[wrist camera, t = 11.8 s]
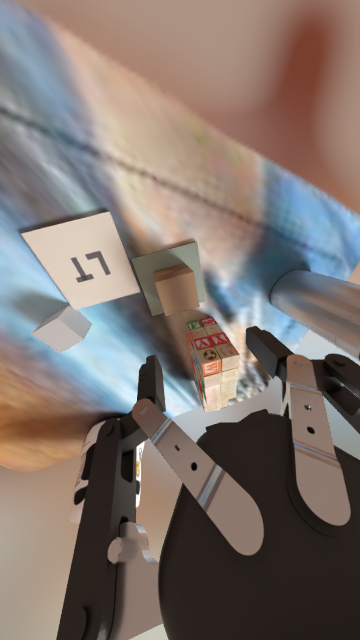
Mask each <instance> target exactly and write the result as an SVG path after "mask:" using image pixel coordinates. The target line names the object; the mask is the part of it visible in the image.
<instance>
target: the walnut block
mask: <svg viewBox="0 0 360 640" xmlns="http://www.w3.org/2000/svg"><path fill="white" fill-rule="evenodd" d="M153 273H154V280H155V284H156V288H157V291H158V294H159V297H160V300H161V303H162V306H163V309H164V312H165V316H168V315H172V314H175V313H178V312H182V311H185V310H189V309H192V308H196V307H199V306H200V305H199V299H198V293H197V287H196V281H195V275H194V271H193V270H192V269H191V268H190V267H189V266H187V265H186V264H185V263H183V264H179V265H175V266H172V267H168V268H164V269H161V270H157V271H154V272H153Z"/></svg>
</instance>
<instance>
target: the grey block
mask: <svg viewBox="0 0 360 640" xmlns="http://www.w3.org/2000/svg"><path fill="white" fill-rule="evenodd" d="M91 325H92V323H91V322H90V321H89V320H88V319H87V318H86V317H84V316H83V315H82V314H81V313H80V312H79V311H78V310H77V309H76V310H74V309H73V308H72V306H71V305H68V306H66V307H65V308H63V309H61V310H60V311H58V312H57V313H55V314H53V315H52V316H50V317H48V318H47V319H46V320H45V321H44V322H43V323H42V324H41V325H40V326H39V327H38V328H37V329H36V330H35V331H33V332H32V333H31V334H32V335H34V336H35V337H37V338H38V339H39V340H41V341H42V342H44V343H45V344H47V345H48V346H50V347H51V348H53V349H54V350H56V351H57V352H59V353H61V352H63V351H65V350H66V349H68V348H70V347H72V346H73V345H75V344H77V343H79V342H80V341H82V340H84V338H85V336H86V334H87V333H88V331H89V329H90V327H91Z"/></svg>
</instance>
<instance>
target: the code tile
mask: <svg viewBox="0 0 360 640" xmlns="http://www.w3.org/2000/svg"><path fill="white" fill-rule="evenodd" d="M21 235H22V236H23V238H24V239H25V241H26V242H27V243H28V245H29V246H30V248H31V249H32V251H33V252H34V253H35V255H36V256H37V258H38V259H39V261H40V262H41V263H42V265H43V266H44V268H45V269H46V271H47V272H48V273H49V275H50V276H51V278H52V279H53V281H54V282H55V283H56V285H57V286H58V288H59V289H60V290H61V292H62V293H63V295H64V296H65V298H66V299H67V300H68V302H69V303H70V305H71V306H72V308H73V309H74V310H76V309H80V308H84V307H87V306H91V305H95V304H98V303H102V302H105V301H109V300H113V299H116V298H120V297H123V296H127V295H131V294H134V293H138V292H140V288H139V286H138V283H137V280H136V278H135V275H134V273H133V270H132V267H131V265H130V262H129V260H128V257H127V254H126V252H125V249H124V247H123V244H122V241H121V239H120V236H119V234H118V231H117V228H116V226H115V223H114V221H113V218H112V215H111V213H110V212H105V213H101V214H97V215H93V216H89V217H85V218H81V219H78V220H74V221H70V222H66V223H62V224H58V225H54V226H50V227H46V228H42V229H38V230H34V231H30V232H26V233H22V234H21Z"/></svg>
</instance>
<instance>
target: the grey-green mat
mask: <svg viewBox="0 0 360 640" xmlns="http://www.w3.org/2000/svg"><path fill="white" fill-rule="evenodd" d="M131 260H132V263H133V266H134V268H135V271H136V274H137V276H138V279H139V282H140V284H141V287H142V290H143V292H144V295H145V298H146V300H147V303H148V306H149V308H150V311H151V314H152V316H155V315H159V314H162V313H165V312H164V309H163V306H162V303H161V300H160V297H159V294H158V291H157V288H156V284H155V280H154V273H153V272H154V271H157V270H161V269H164V268H168V267H172V266H175V265H179V264H183V263H185V264H186V265H187V266H189V267H190V268H191V269H192V270H193V271H194V275H195V281H196V287H197V293H198V299H199V303H201V302H204V301H205V297H204V290H203V282H202V275H201V267H200V260H199V253H198V245H197V242H193V243H189V244H186V245H182V246H178V247H174V248H171V249H167V250H163V251H159V252H156V253H152V254H148V255H144V256H141V257H137V258H133V259H131Z"/></svg>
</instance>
